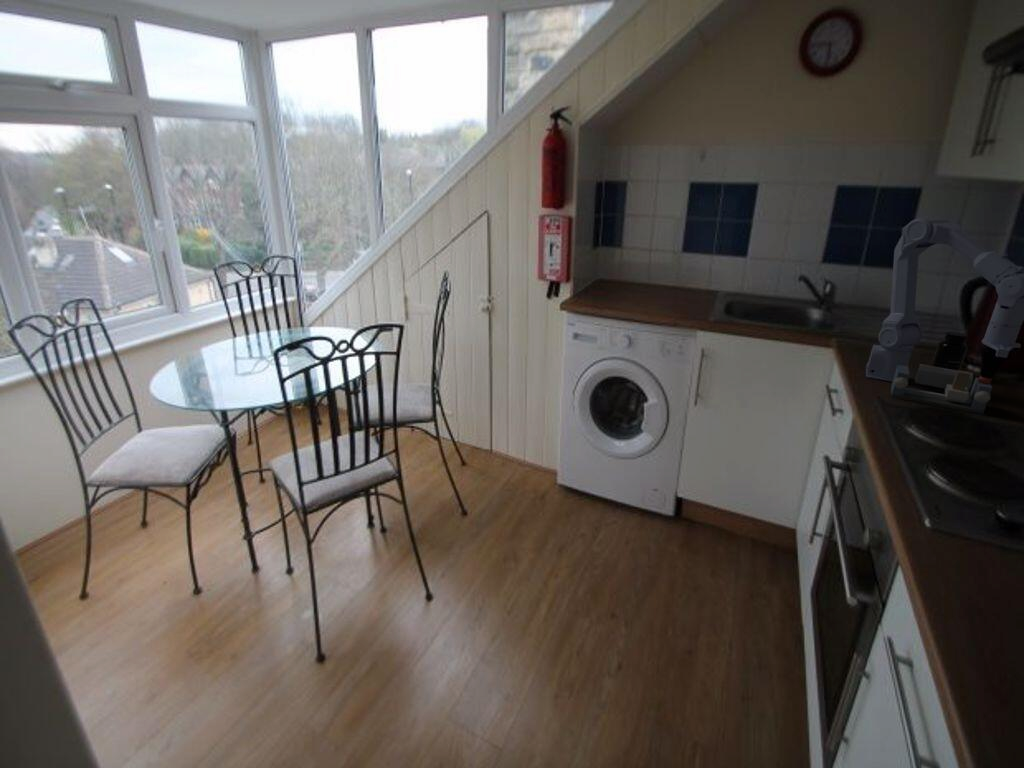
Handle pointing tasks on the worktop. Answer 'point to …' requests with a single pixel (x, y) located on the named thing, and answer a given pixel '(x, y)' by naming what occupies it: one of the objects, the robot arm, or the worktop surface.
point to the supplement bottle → (950, 351)
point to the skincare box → (938, 376)
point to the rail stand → (973, 403)
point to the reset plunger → (984, 379)
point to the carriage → (958, 387)
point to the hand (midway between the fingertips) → (985, 377)
